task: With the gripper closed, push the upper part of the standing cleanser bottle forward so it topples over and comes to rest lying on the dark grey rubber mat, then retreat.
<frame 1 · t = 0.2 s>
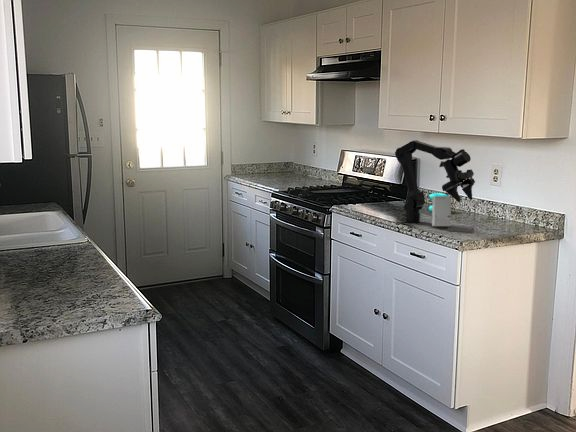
hand: (465, 200, 286), 15 cm above the countertop, tool tilted 30°, fingers open, 9 cm apart
skincare box: (441, 226, 296), on the countertop
mat: (460, 229, 293), on the countertop
donuts: (437, 211, 344), on the countertop
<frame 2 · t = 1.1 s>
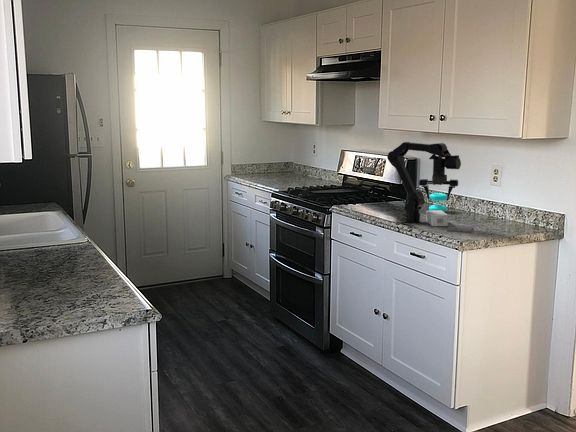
hand: (438, 199, 301), 13 cm above the countertop, tool pointing down, fingers open, 9 cm apart
skincare box: (440, 221, 298), point 3 cm above the countertop
everything else where it was.
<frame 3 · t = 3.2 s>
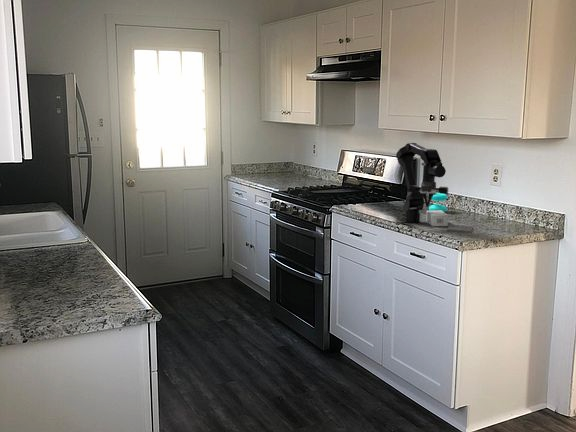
hand: (427, 206, 297), 10 cm above the countertop, tool pointing down, fingers closed
nothing on the countertop moved.
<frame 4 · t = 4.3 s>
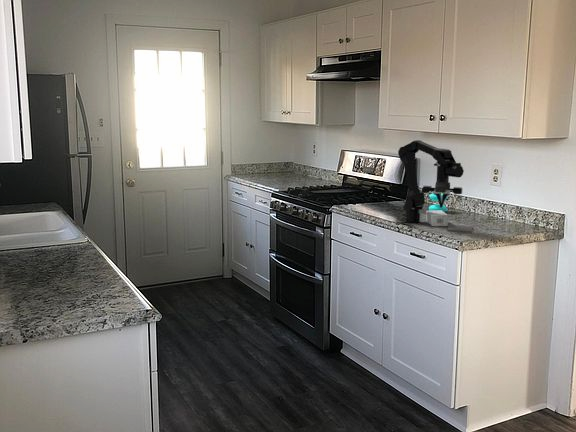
hand: (441, 207, 294), 10 cm above the countertop, tool pointing down, fingers closed
nothing on the countertop moved.
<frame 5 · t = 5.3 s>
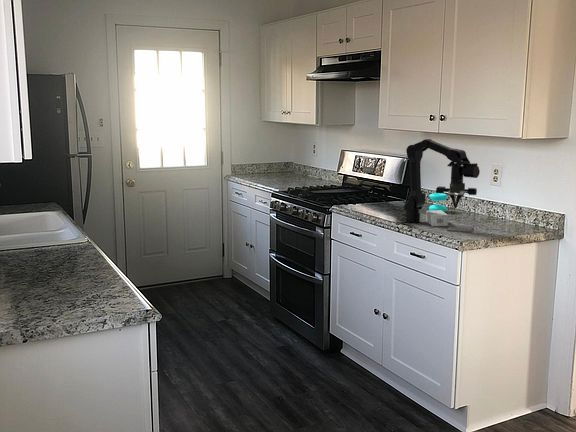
hand: (455, 208, 292), 10 cm above the countertop, tool pointing down, fingers closed
nothing on the countertop moved.
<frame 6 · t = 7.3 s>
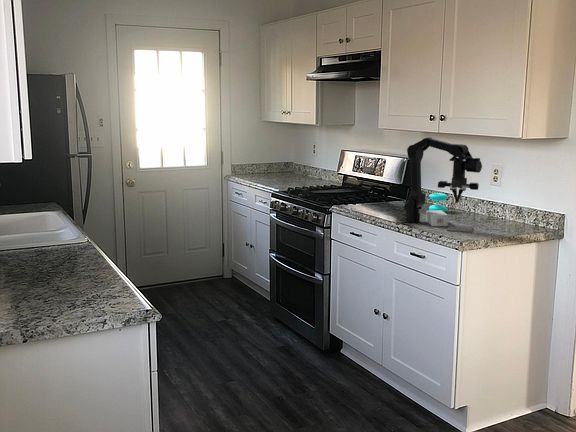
hand: (456, 202, 292), 13 cm above the countertop, tool pointing down, fingers closed
nothing on the countertop moved.
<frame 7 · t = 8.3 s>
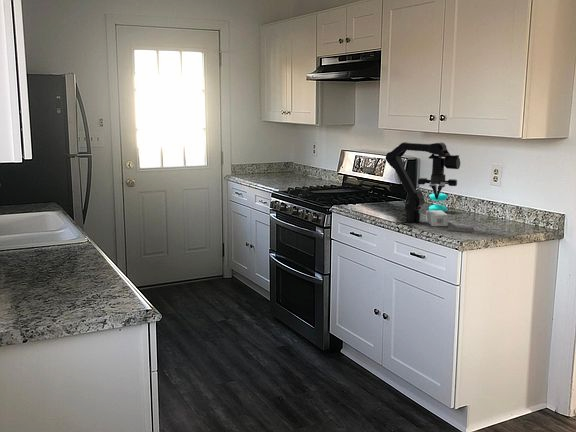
hand: (436, 198, 302), 13 cm above the countertop, tool pointing down, fingers closed
nothing on the countertop moved.
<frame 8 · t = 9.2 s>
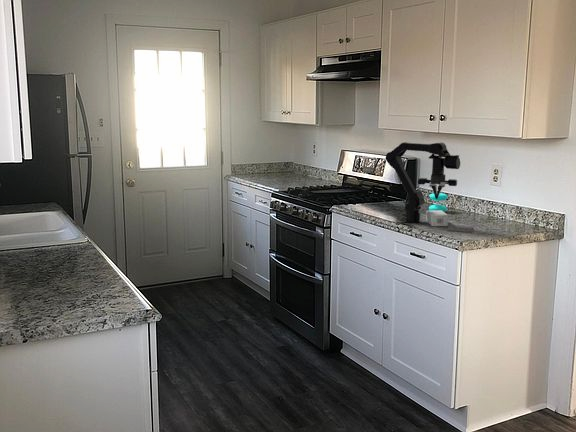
hand: (436, 198, 302), 13 cm above the countertop, tool pointing down, fingers closed
nothing on the countertop moved.
at the end: skincare box tilted 89°; skincare box inside the target area (12.2 cm from its centre), point 2.9 cm above the countertop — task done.
